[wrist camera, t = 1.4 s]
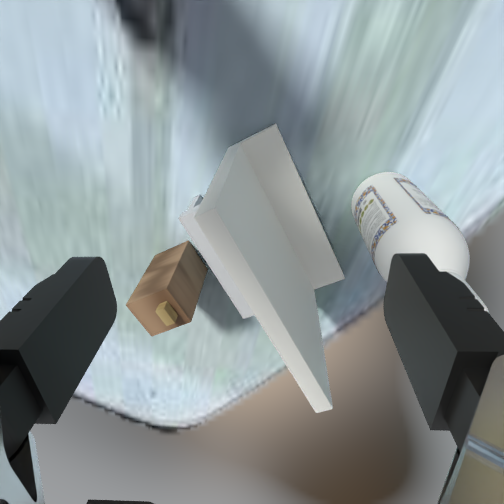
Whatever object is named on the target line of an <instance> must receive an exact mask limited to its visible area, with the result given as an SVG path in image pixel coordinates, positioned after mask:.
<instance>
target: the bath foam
mask: <svg viewBox="0 0 504 504" xmlns="http://www.w3.org/2000/svg"><path fill="white" fill-rule="evenodd" d="M351 210H352V214H353V217H354V219H355V222H356V224H357V226H358V229H359V231H360V233H361V235H362V237H363V239H364V242H365V244H366V246H367V248H368V250H369V253H370V255H371V257H372V259H373V261H374V264H375V266H376V268H377V270H378V272H379V273H380V275H381V276H382V277H383V279H384V280H385V281H386V282H387V281H388V275H389V270H390V264H391V260H392V257H393V255H394V254H396V253H425V254H427V256H428V257H429V258H430V260H431V261H432V262H433V264H434V265H435V266H436V268H437V269H438V270H439V271H447V272H448V273H450V274H451V275H453V276H454V277H456V278H457V279H459V280H460V281H462V282H463V283H465V285H466V286H467V287H468V288H469V290H470V291H471V292H472V293H473V295H474V296H475V299H478V301H479V302H480V303H481V304H482V306H483V307H484V311H487V312H488V309H487V307H486V306H485V304H484V303H483V302H482V300H481V299H480V298H479V297H478V295H477V294H476V293H475V292H474V291H473V289H472V288H471V287H470V286H469V284H468V283H467V282H466V281H465V279H466V277H467V273H468V269H469V262H470V260H469V258H470V257H469V250H468V246H467V243H466V241H465V238H464V236H463V235H462V233H461V232H460V230H459V228H458V227H457V226H456V225H455V224H454V223H453V222H452V221H451V220H450V219H449V218H448V217H447V216H446V215H445V214H444V213H443V212H442V211H441V210H440V209H439V208H438V207H437V206H436V205H435V204H434V203H433V202H432V201H431V200H430V199H429V198H428V197H427V196H426V195H425V194H424V193H423V192H422V191H421V190H420V189H419V188H418V187H417V186H415V185H414V184H413V183H412V182H411V181H410V180H409V179H408V178H406V177H405V176H403V175H401V174H398V173H394V172H382V173H378V174H375V175H373V176H371V177H369V178H367V179H366V180H364V181H363V182H362V183H361V184H360V185H359V186H358V188H357V189H356V191H355V193H354V195H353V197H352V202H351ZM488 313H489V312H488Z"/></svg>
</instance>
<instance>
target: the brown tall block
mask: <svg viewBox="0 0 504 504" xmlns="http://www.w3.org/2000/svg"><path fill="white" fill-rule="evenodd" d="M207 270H208V269H207V268H206V266H205V265H204V263H203V262H202V260H201V259H200V257H199V256H198V254H197V252H196V251H195V249H194V248H193V246H192V245H191V243H190V242H189V241H186V242H184V243H182V244H180V245H177V246H175V247H173V248H171V249H168V250H166V251H164V252H162V253H159V254H157V255H155V256H154V258H153V260H152V261H151V263H150V265H149V267H148V268H147V270H146V272H145V273H144V275H143V277H142V278H141V280H140V282H139V283H138V285H137V287H136V289H135V290H134V292H133V294H132V295H131V297H130V299H129V300H128V302H127V304H126V306H127V307H128V308H129V310H130V311H131V312H132V313H133V314H134V316H135V317H136V318H137V319H138V321H139V322H140V323H141V324H142V325H143V327H144V328H145V329H146V330H147V331H148V333H149V334H150V335H151V336H154V335H157V334H160V333H162V332H165V331H168V330H170V329H173V328H176V327H178V326H181V325H184V324H187V323H189V322H191V321H192V318H193V315H194V311H195V308H196V305H197V302H198V299H199V295H200V292H201V289H202V286H203V283H204V280H205V276H206V273H207Z"/></svg>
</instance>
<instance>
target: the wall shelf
mask: <svg viewBox="0 0 504 504" xmlns="http://www.w3.org/2000/svg"><path fill="white" fill-rule="evenodd" d="M179 220H180V222H181V223H182V225H183V226H184V228H185V230H186V231H187V233H188V234H189V236H190V237H191V239H192V240H193V242H194V243H195V245H196V247H197V248H198V250H199V251H200V253H201V254H202V256H203V257H204V259H205V260H206V262H207V264H208V265H209V267H210V268H211V270H212V271H213V273H214V274H215V276H216V277H217V279H218V280H219V282H220V284H221V285H222V287H223V288H224V290H225V291H226V293H227V294H228V296H229V297H230V299H231V301H232V302H233V304H234V305H235V307H236V308H237V310H238V311H239V313H240V314H241V316H242V318H243V319H245V318H248V317H251V316H254V315H255V316H256V318H257V319H258V321H259V322H260V324H261V326H262V327H263V329H264V330H265V332H266V334H267V335H268V337H269V338H270V340H271V342H272V343H273V345H274V346H275V348H276V350H277V351H278V353H279V354H280V356H281V358H282V359H283V361H284V362H285V364H286V366H287V367H288V369H289V371H290V372H291V374H292V375H293V377H294V378H295V380H296V382H297V383H298V385H299V386H300V388H301V390H302V391H303V393H304V395H305V396H306V397H307V399H308V401H309V402H310V404H311V405H312V407H313V409H314V410H315V412H316V413H319V412H322V411H326V410H330V409H333V406H332V399H331V394H330V387H329V380H328V374H327V368H326V361H325V355H324V348H323V342H322V335H321V329H320V323H319V316H318V310H317V304H316V297H315V291H314V290H315V289H318V288H321V287H323V286H326V285H329V284H332V283H335V282H337V281H340V280H343V279H345V277H344V274H343V271H342V269H341V267H340V265H339V263H338V260H337V258H336V256H335V254H334V251H333V249H332V247H331V245H330V243H329V240H328V238H327V236H326V234H325V231H324V229H323V227H322V225H321V222H320V220H319V218H318V216H317V214H316V211H315V209H314V207H313V205H312V202H311V200H310V198H309V196H308V194H307V191H306V189H305V187H304V185H303V182H302V180H301V178H300V176H299V173H298V171H297V169H296V167H295V165H294V162H293V160H292V158H291V156H290V153H289V151H288V149H287V147H286V145H285V142H284V140H283V138H282V136H281V133H280V131H279V129H278V127H277V124H276V123H275V124H273V125H272V126H270V127H268V128H266V129H264V130H262V131H260V132H258V133H256V134H254V135H252V136H250V137H248V138H246V139H244V140H242V141H240V142H238V143H236V144H234V145H232V146H230V147H228V149H227V151H226V153H225V155H224V157H223V159H222V162H221V164H220V166H219V168H218V170H217V172H216V174H215V176H214V178H213V180H212V182H211V184H210V186H209V188H208V190H207V192H206V194H205V196H204V198H203V199H202V197H201V196H200V195H198V196H196V197H194V198H193V200H192V202H191V204H190V205H189V207H188V209H187V211H184V212H182V214H181V215H180V217H179Z"/></svg>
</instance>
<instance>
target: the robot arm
mask: <svg viewBox="0 0 504 504" xmlns="http://www.w3.org/2000/svg"><path fill="white" fill-rule="evenodd" d="M116 313H117V303H116V298H115V295H114V291H113V288H112V284H111V281H110V278H109V274H108V271H107V267H106V264H105V262H104V260H103V259H102V258H101V257H72V258H70V259H69V260H68V261H67V262H66V263H65V264H64V265H63V266H62V267H61V268H60V269H59V270H58V271H57V272H56V273H55V274H54V275H51V276H50V277H48V278H47V279H45V280H43V281H42V282H40V283H38V284H37V285H35V286H34V287H33V288H32V289H31V290H30V291H29V292H28V293H27V294H26V295H25V296H24V297H23V300H22V301H19V302H18V303H17V304H16V305H15V306H14V307H13V308H12V312H8V313H7V315H6V316H5V317H4V318H3V319H2V320H1V321H0V504H45V501H44V494H43V488H42V481H41V475H40V469H39V463H38V457H37V450H36V443H35V439H34V437H33V435H32V433H31V432H30V430H31V428H32V427H33V425H34V424H35V423H37V424H56V423H57V421H58V419H59V418H60V416H61V414H62V413H63V411H64V409H65V407H66V406H67V404H68V402H69V400H70V399H71V397H72V395H73V393H74V392H75V390H76V388H77V386H78V385H79V383H80V381H81V379H82V378H83V376H84V374H85V372H86V371H87V369H88V367H89V365H90V364H91V362H92V360H93V358H94V357H95V355H96V353H97V351H98V350H99V348H100V346H101V344H102V343H103V341H104V339H105V337H106V335H107V334H108V332H109V330H110V328H111V327H112V325H113V323H114V321H115V318H116ZM384 316H385V320H386V323H387V326H388V328H389V331H390V333H391V336H392V338H393V340H394V343H395V345H396V348H397V350H398V353H399V355H400V357H401V360H402V362H403V365H404V367H405V370H406V372H407V374H408V377H409V379H410V382H411V384H412V386H413V389H414V391H415V394H416V396H417V398H418V401H419V404H420V406H421V408H422V411H423V413H424V416H425V418H426V421H427V423H428V425H429V428H430V430H450V432H451V433H452V436H453V438H454V440H455V442H456V444H457V449H456V451H455V454H454V457H453V459H452V462H451V465H450V468H449V471H448V474H447V476H446V479H445V482H444V485H443V488H442V491H441V493H440V496H439V499H438V502H437V504H504V332H503V330H502V329H501V328H500V327H499V325H498V324H497V323H496V322H495V321H494V319H493V318H492V317H491V316H490V314H489V313H488V312H487V311H484V307H483V306H482V304H481V303H480V302H479V301H478V299H475V296H474V295H473V293H472V292H471V291H470V290H469V288H468V287H467V286H466V285H465V283H463V282H462V281H460V280H459V279H457V278H456V277H454V276H453V275H451V274H450V273H448V272H447V271H439V270H438V269H437V268H436V266H435V265H434V264H433V262H432V261H431V260H430V258H429V257H428V256H427V254H425V253H396V254H394V255H393V257H392V260H391V264H390V270H389V275H388V281H387V286H386V292H385V297H384ZM87 504H153V503H151V502H144V501H143V502H142V501H113V500H88V502H87Z"/></svg>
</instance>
